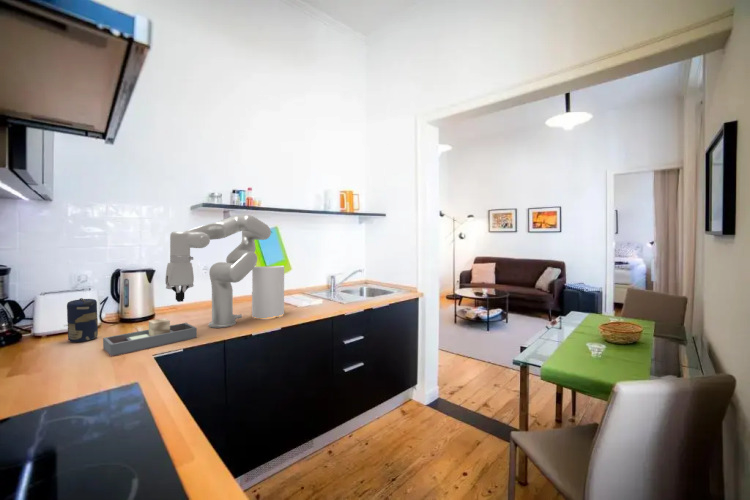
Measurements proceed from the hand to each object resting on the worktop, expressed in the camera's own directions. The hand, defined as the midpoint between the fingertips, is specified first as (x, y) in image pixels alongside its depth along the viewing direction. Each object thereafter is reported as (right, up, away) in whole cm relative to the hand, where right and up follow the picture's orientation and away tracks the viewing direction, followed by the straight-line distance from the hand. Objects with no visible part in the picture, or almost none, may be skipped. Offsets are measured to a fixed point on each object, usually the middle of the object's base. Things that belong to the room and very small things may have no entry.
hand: (179, 301), depth 143 cm
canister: (-39, -16, -4) cm, 42 cm away
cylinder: (+25, -15, +41) cm, 51 cm away
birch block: (-5, -13, -5) cm, 15 cm away
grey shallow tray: (-7, -16, -7) cm, 19 cm away
